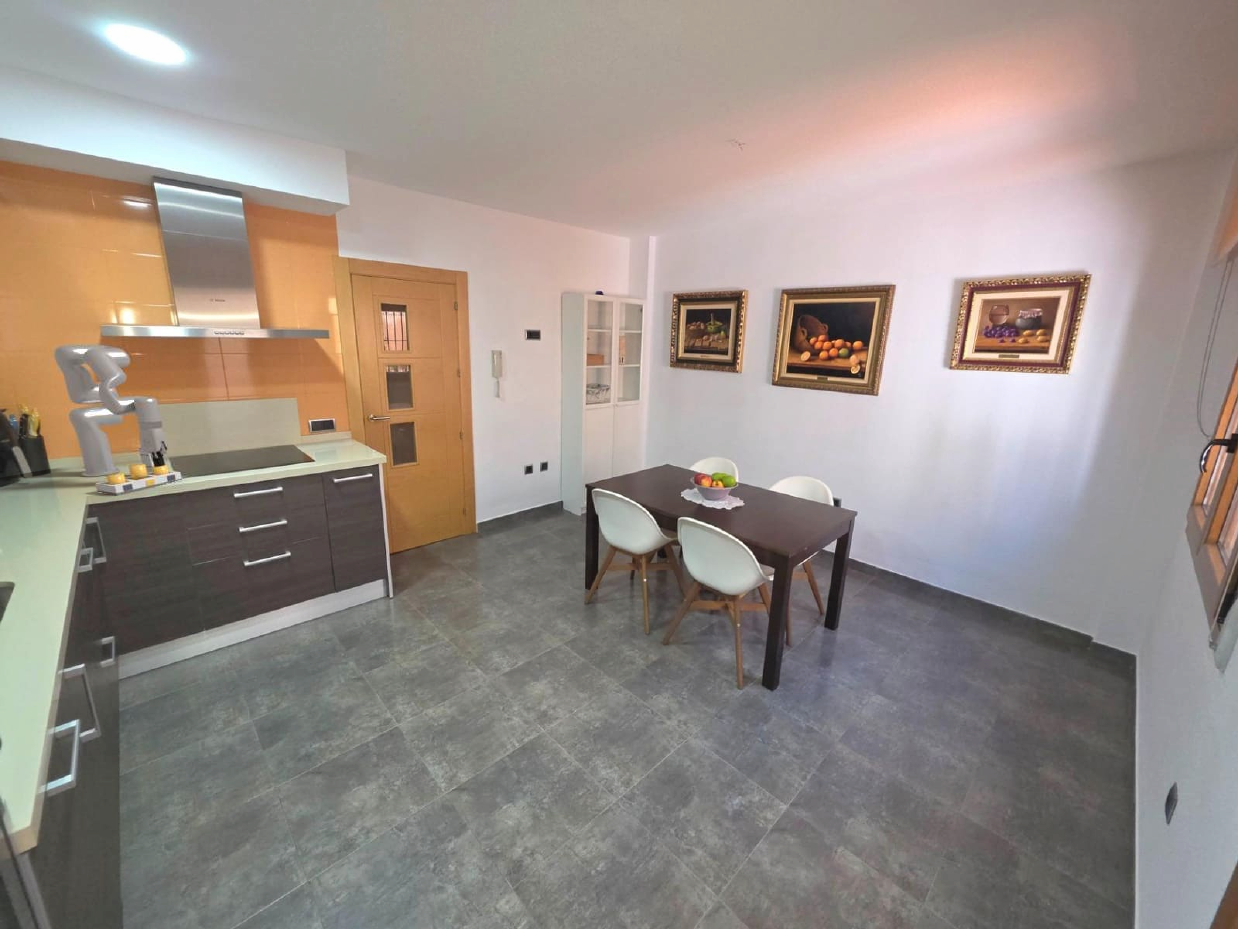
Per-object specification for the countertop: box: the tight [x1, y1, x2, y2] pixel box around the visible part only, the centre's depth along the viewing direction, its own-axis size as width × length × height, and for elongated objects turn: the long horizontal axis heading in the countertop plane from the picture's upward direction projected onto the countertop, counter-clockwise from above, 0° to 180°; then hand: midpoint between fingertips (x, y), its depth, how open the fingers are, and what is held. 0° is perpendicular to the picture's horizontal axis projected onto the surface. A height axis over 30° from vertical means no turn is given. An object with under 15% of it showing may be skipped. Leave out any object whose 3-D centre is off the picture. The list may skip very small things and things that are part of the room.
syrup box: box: [137, 446, 166, 473], centre depth 230 cm, size 6×6×14 cm
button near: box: [106, 472, 126, 485], centre depth 206 cm, size 5×5×6 cm
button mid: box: [128, 463, 148, 480], centre depth 213 cm, size 5×5×6 cm
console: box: [95, 470, 183, 497], centre depth 214 cm, size 12×24×4 cm, turn 164°
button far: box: [152, 464, 169, 476], centre depth 221 cm, size 5×5×6 cm
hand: (159, 466), depth 220 cm, fingers closed
